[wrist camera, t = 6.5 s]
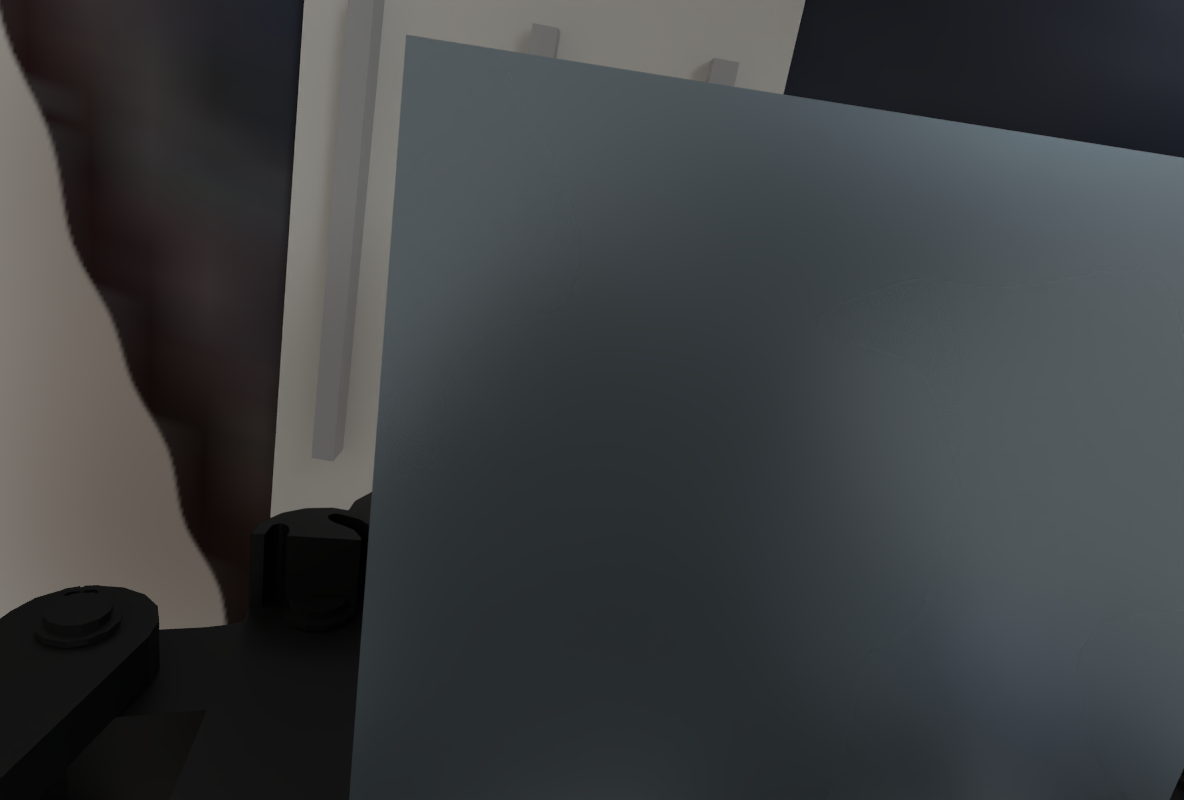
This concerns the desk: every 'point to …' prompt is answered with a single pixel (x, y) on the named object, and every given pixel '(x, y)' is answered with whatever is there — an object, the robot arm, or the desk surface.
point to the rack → (368, 168)
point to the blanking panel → (768, 450)
